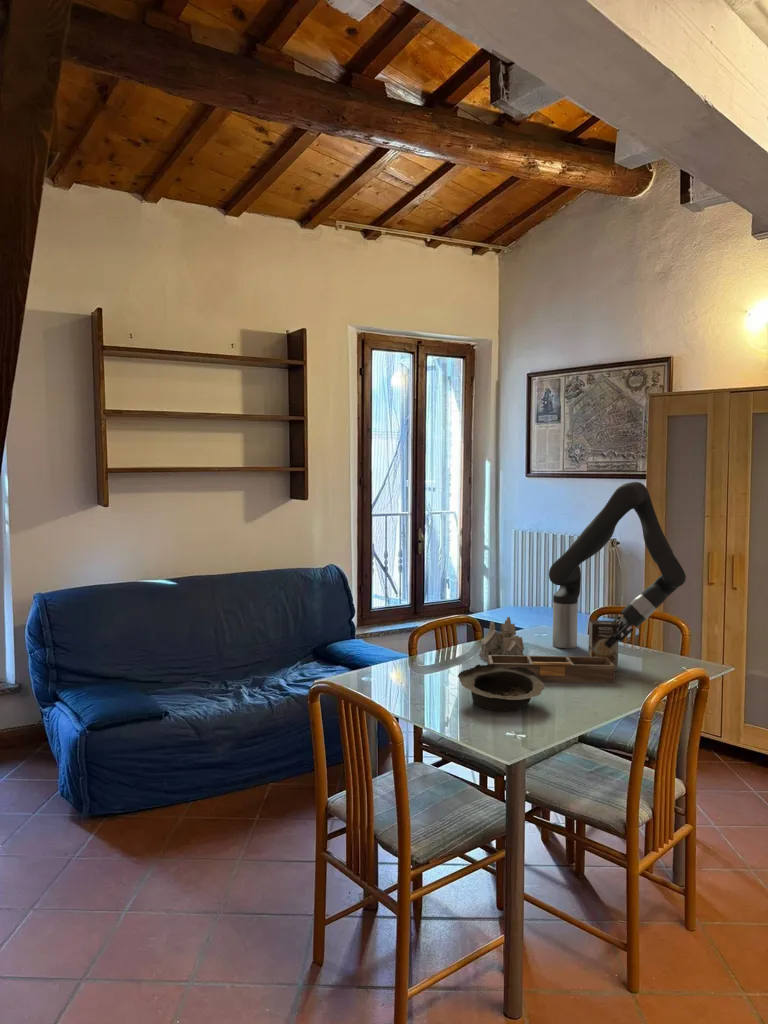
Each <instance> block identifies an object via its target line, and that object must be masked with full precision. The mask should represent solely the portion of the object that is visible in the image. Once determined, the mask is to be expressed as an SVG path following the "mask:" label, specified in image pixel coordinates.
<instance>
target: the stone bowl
mask: <svg viewBox="0 0 768 1024" xmlns="http://www.w3.org/2000/svg"><path fill="white" fill-rule="evenodd" d="M457 678H458V679H459V682H460V683H461V686H462V687H464V688H465V689H467V690H469V691H470V693H471V698H472V701H473V703H474V704H475V705H476V706H478V707H479V708H483V709H484V708H485V709H488V710H492V711H493V712H496V713H497V712H499V713H500V712H509V711H510V712H515V711H517V710H518V709H520V708H523V707H525V706H526V705H528V704H529V703H530V701H531V699H532V698H535V697H538V696H540V695H541V694H542V692H543V690H545V689H546V688H545V684H544V681H540V680H539V679H538V678H536V675H535V673H534V672H532V671H530V670H528V669H527V668H522V667H517V668H516V667H514V668H504V667H500V666H496V665H495V666H494V665H493V664H492V665H489V664H488V663H487V664H485V665H484V664H479V663H478V664H477V665H474V667H470V668H467V669H465V670H462V671H460V672H459V673H458V675H457Z"/></svg>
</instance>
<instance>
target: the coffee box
mask: <svg viewBox="0 0 768 1024" xmlns="http://www.w3.org/2000/svg"><path fill="white" fill-rule="evenodd" d="M588 623H589V624H588V625H589V626H588V651H587V652H588V653H587V657H608V658H609V659H610V661H611V662H612V663H613V664H614V665H615V671H618V669H619V665H618V664H619V641H617V642H616V643H615V644H614V645H613V646H611V647H610V648H608V647H607V646H606V645H605V642H606V641H607V640H608V639H610V638H611V637H612V636H613V635H614V633H615V630H616V629H617V628H618V627H619V624H618V623H617V622H615V621H614V620H600V619H599V620H595V619H591V620H590V619H589V622H588Z"/></svg>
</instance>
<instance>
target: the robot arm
mask: <svg viewBox="0 0 768 1024" xmlns="http://www.w3.org/2000/svg"><path fill="white" fill-rule="evenodd" d="M631 510H634V511H635V513H636V514H637V517H638V519H639V521H640V524H641V528H642V529H641V530H642V537H643V541H644V543H645V544H644V545H645V546H646V548H647V551H648V553H649V554H650V557H651V558H652V560H653V563H655V564H656V565H657V567H658V569H659V571H660V573H661V574H660V575H659V577H658V578H657V579H655V581H654V582H653V583H652V584H650V585H649V586H647V587H646V588H645V589H644V590H643V591H642V592H641V593H640V594H639V595H637V596H636V597H635V598H633V599H632V600H631V601H630V602H629V603H628V604H627V605H626V606H625V607H624V608H623V609H622V610H621V611H620V613H621V615H622V617H621V616H620V615H618V616H616V618H615V619H613V621H615V622H617V623H618V624H619V627H618V628H617V629H616V630H615V633H614V635H613V636H612V637H611V638H610V639H608V640H607V641H606V642H605V645H606V646H607V647H608V648H610V647H611V646H613V645H614V644H615V643H616V642H617V641H618V642H622V641H624V639H626V638H627V636H628V635H630V633H632V632H633V631H634V628H633V627H632V626H634V627H635V628H638V627H640V626H641V625H642V624H643V623H644V622H645V621H646V620H647V619H648V618H649V617H650V616H651V615H652V614H654V612H655V611H656V609H658V608H659V607H660V606H661V605H662V604H663V603H664V602H665V601H666V599H667V598H668V597H669V596H671V594H673V593H674V592H675V591H676V590H677V589H678V588H679V587H681V586H683V585H684V583H685V582H686V580H687V579H686V578H687V576H686V572H685V571H684V569H683V567H682V565H681V564H680V562H679V560H678V559H677V557H676V555H675V554H674V552H673V550H672V548H671V546H670V544H669V541H668V539H667V538H666V535H665V534H664V531H663V529H662V527H661V525H660V522H659V519H658V517H657V514H656V510H655V508H654V505H653V501H652V499H651V496H650V492H649V490H648V488H647V486H646V485H645V484H644V483H642V482H639V481H632V482H627V483H623V484H621V485H619V486H618V487H617V488H616V489H615V491H614V492H613V493H612V495H611V497H610V498H609V499H608V501H607V503H606V504H604V507H603V508H602V509H601V510H600V511H599V512H598V514H597V515H596V516H595V517H594V518H593V519H592V520H591V522H590V523H589V524H588V525H587V526H586V527H585V528H584V529H583V531H582V532H581V533H580V534H579V535H578V537H577V538H576V539H575V540H574V542H573V543H572V544H571V545H570V546H569V548H568V549H567V550H566V551H565V552H564V553H563V554H562V555H561V556H560V557H559V558H558V559H556V561H554V563H552V564H551V566H550V568H549V571H548V579H549V580H550V582H551V583H552V584H554V585H556V586H559V589H558V590H557V591H556V592H555V593H554V594H553V595H552V596H553V597H552V646H553V647H555V648H559V649H575V648H577V646H578V607H579V605H578V602H579V601H578V599H579V597H580V593H581V582H582V581H581V579H582V578H581V577H582V573H581V567H580V565H581V564H582V563H584V562H585V561H587V560H588V559H589V558H591V557H593V556H595V555H596V554H597V553H599V552H600V551H601V550H602V549H603V548H604V547H605V545H607V543H609V541H610V539H611V538H612V536H613V535H614V532H615V529H616V527H617V524H618V523H619V522H620V521H621V519H623V517H624V516H625V515H626V514H628V512H630V511H631Z"/></svg>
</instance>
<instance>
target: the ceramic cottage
mask: <svg viewBox="0 0 768 1024" xmlns="http://www.w3.org/2000/svg"><path fill="white" fill-rule="evenodd" d="M516 631H517V630H516V624H515V623H512V621H511V617H509V616H507V617H506V619H505V621H504V622H503V623H501V625H500V632H499V633H498V632H497V631H496V624H495V622H493V621H492V622H490V623H489V630H488V631H487V633H486V635H485V636H484V637H483V638H482V640H480V642H481V643H482V644H480V647H481V648H480V650H479V654H478V657H479V656H480V657H481V658H483V659H485V660H484V661H487V660H488V655H519V656H525V654H524V650H525V646H524V642H523V637H522V636H519V635H516V634H517V632H516ZM480 657H479V658H480ZM481 658H480V659H481ZM483 659H482V660H483Z"/></svg>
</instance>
